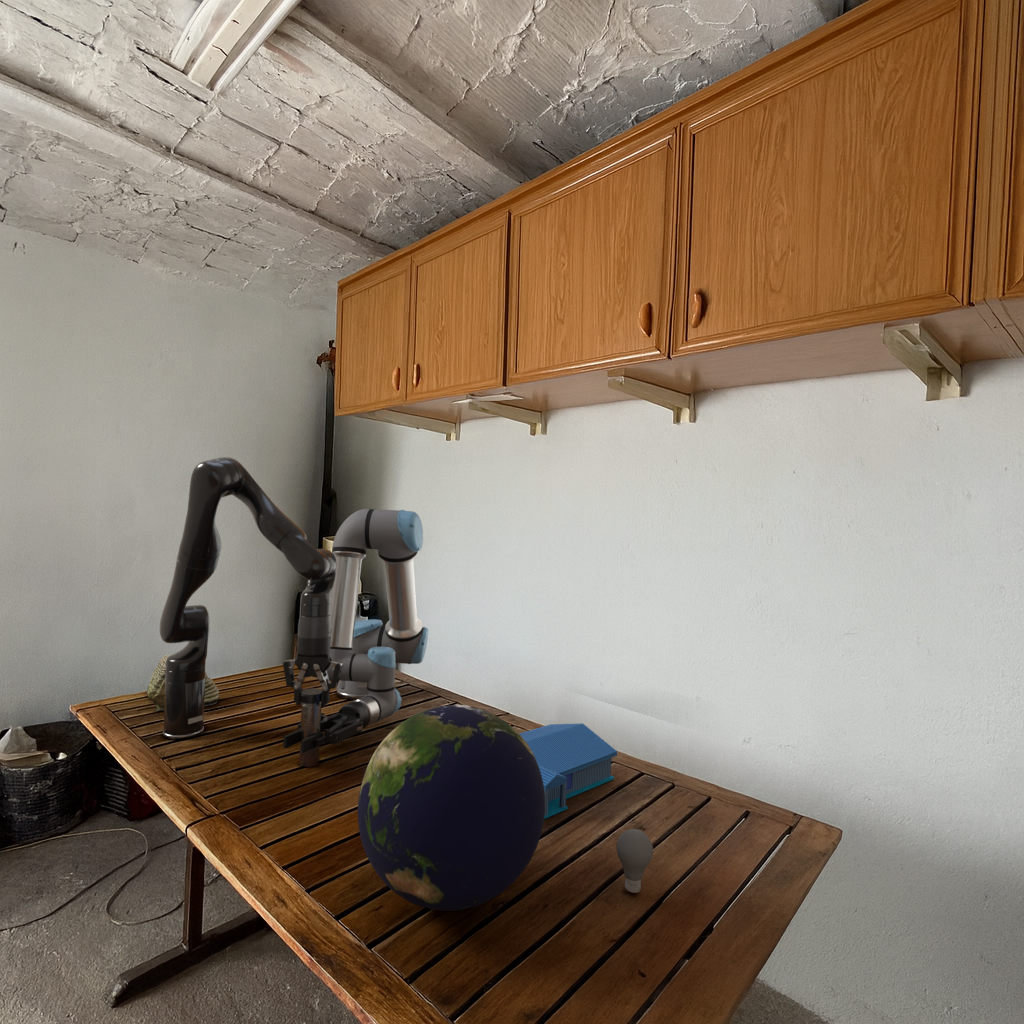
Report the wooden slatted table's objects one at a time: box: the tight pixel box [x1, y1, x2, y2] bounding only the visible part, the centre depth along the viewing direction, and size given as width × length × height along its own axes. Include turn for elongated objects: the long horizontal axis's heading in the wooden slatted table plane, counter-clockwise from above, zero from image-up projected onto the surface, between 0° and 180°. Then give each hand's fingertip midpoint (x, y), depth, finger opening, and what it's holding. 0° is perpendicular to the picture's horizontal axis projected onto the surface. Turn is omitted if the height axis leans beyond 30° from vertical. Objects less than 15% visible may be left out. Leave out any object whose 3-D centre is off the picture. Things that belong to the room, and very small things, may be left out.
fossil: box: [146, 654, 221, 712], centre depth 185 cm, size 9×18×15 cm, turn 132°
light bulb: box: [615, 828, 654, 894], centre depth 106 cm, size 6×6×10 cm
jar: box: [298, 702, 322, 768], centre depth 150 cm, size 4×4×16 cm
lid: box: [300, 687, 323, 704], centre depth 150 cm, size 6×6×2 cm
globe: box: [357, 704, 545, 912], centre depth 102 cm, size 30×30×30 cm
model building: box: [519, 722, 618, 820], centre depth 142 cm, size 39×24×10 cm, turn 132°
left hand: (311, 704), depth 150 cm, fingers closed on lid, 5 cm apart
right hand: (293, 744), depth 145 cm, fingers closed on jar, 4 cm apart
